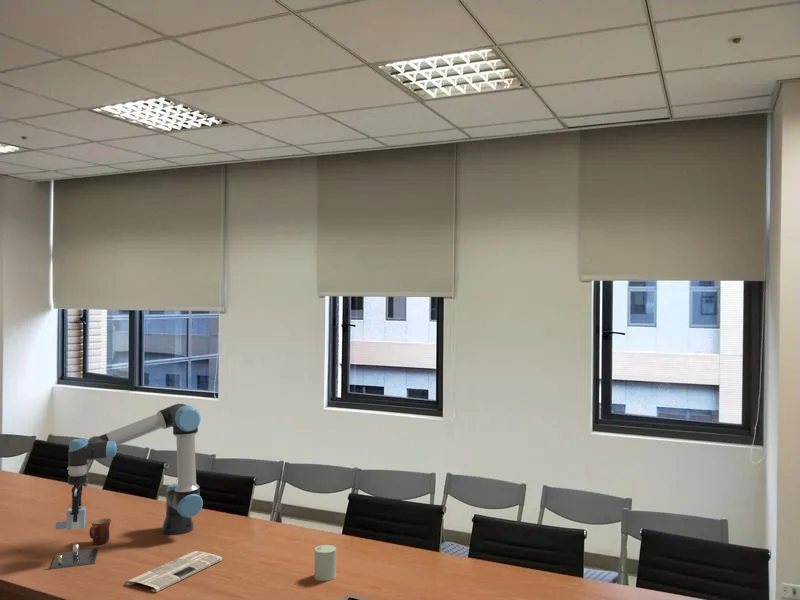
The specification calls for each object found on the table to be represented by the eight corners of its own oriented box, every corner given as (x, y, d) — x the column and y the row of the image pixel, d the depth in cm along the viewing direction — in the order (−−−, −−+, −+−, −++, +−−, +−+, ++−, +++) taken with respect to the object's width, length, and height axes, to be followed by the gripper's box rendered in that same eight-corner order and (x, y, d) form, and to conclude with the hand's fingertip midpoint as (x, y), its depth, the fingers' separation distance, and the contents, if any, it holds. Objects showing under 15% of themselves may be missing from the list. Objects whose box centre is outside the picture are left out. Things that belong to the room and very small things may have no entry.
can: (314, 572, 265) (314, 543, 265) (336, 571, 266) (336, 543, 266) (313, 581, 256) (313, 551, 256) (336, 580, 257) (336, 551, 257)
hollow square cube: (85, 523, 283) (86, 505, 283) (84, 528, 277) (84, 509, 277) (57, 526, 279) (57, 508, 279) (54, 531, 272) (55, 512, 273)
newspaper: (156, 594, 244) (156, 587, 244) (121, 585, 253) (122, 578, 253) (222, 562, 277) (222, 555, 277) (189, 555, 286) (189, 548, 286)
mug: (98, 538, 305) (99, 517, 305) (114, 540, 303) (115, 518, 303) (81, 547, 293) (82, 525, 293) (98, 549, 291) (98, 526, 291)
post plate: (98, 550, 289) (98, 536, 289) (95, 563, 273) (95, 548, 274) (56, 555, 283) (57, 540, 283) (51, 569, 267) (51, 553, 267)
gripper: (70, 470, 287) (69, 520, 286) (65, 480, 269) (63, 534, 268) (88, 468, 290) (87, 518, 289) (84, 478, 272) (83, 532, 271)
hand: (76, 526), depth 279 cm, fingers closed on hollow square cube, 7 cm apart
